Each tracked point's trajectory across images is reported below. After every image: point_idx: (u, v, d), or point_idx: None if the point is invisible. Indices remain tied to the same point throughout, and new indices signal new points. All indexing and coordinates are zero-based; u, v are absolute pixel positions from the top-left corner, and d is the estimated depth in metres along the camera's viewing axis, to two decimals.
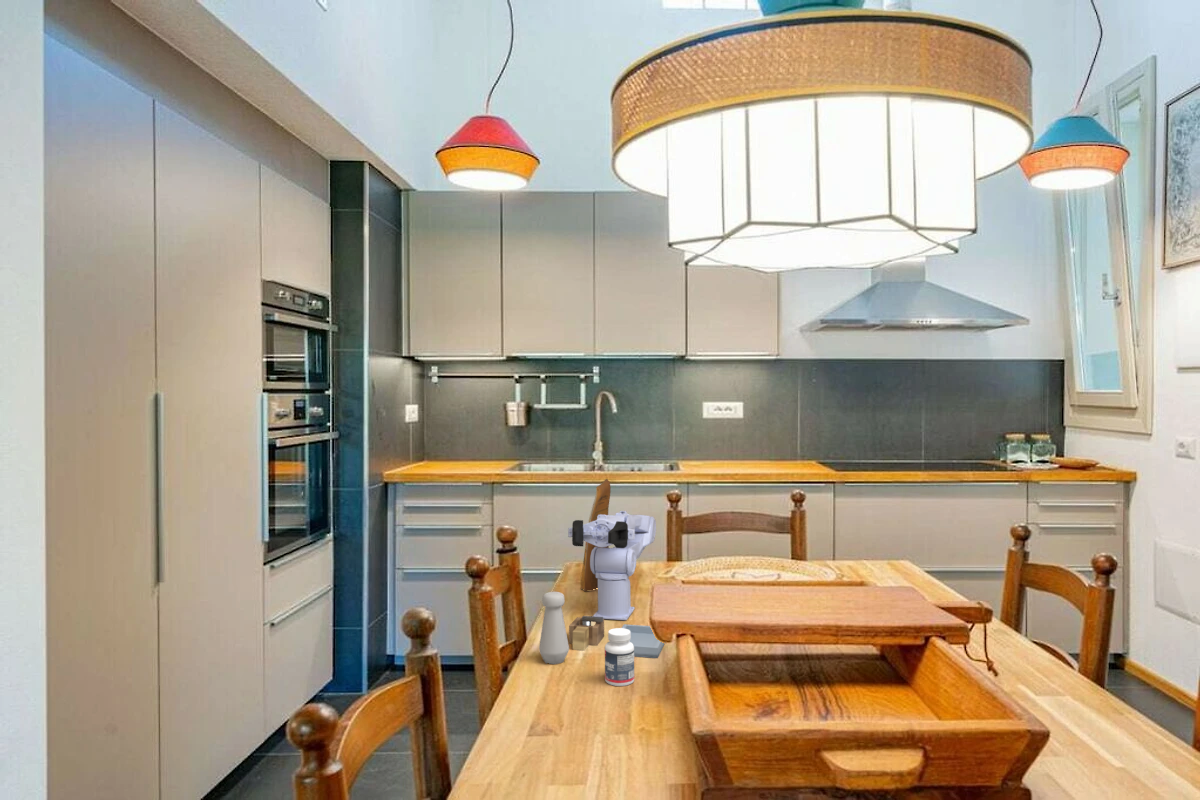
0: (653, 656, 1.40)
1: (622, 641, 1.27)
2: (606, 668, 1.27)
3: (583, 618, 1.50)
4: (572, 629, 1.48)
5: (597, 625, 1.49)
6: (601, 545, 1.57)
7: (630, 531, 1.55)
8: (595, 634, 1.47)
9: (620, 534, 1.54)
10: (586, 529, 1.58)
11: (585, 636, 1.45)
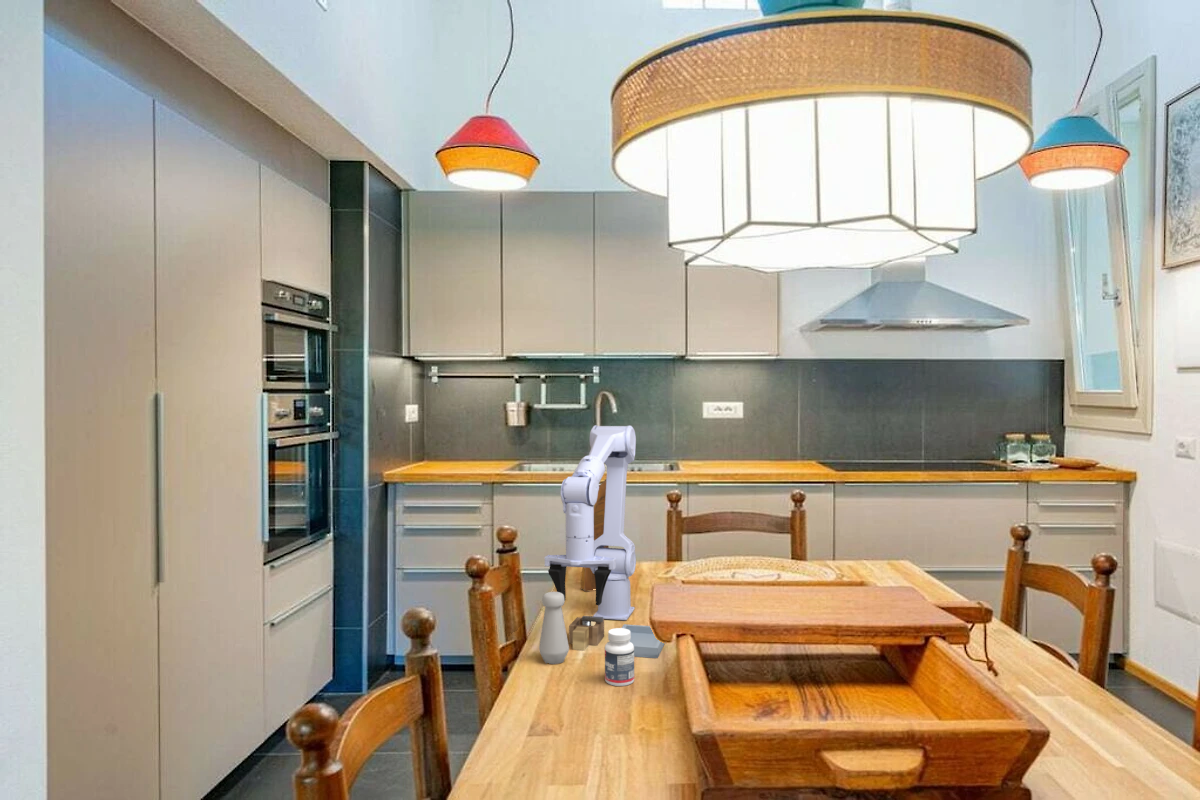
0: (653, 656, 1.40)
1: (622, 641, 1.27)
2: (606, 668, 1.27)
3: (583, 618, 1.50)
4: (572, 629, 1.48)
5: (597, 625, 1.49)
6: None
7: None
8: (595, 634, 1.47)
9: None
10: None
11: (585, 636, 1.45)
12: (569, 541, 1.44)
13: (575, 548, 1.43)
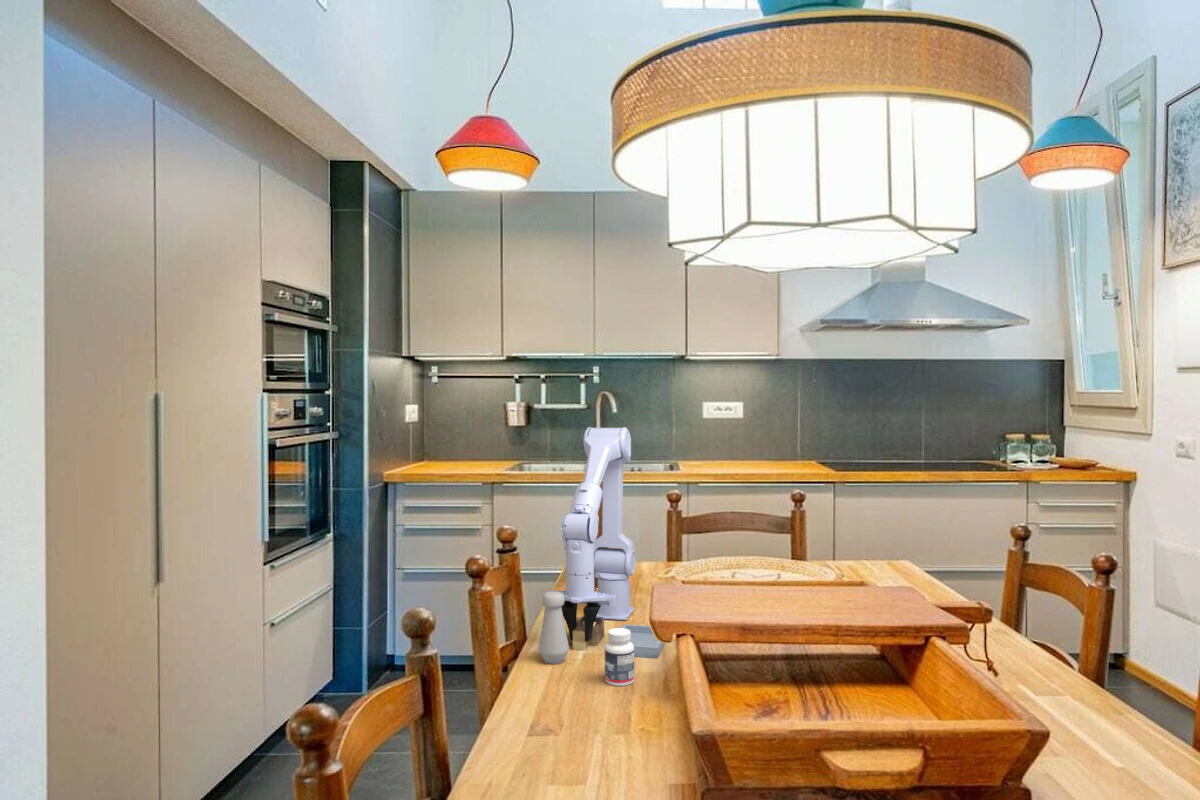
0: (653, 656, 1.40)
1: (622, 641, 1.27)
2: (606, 668, 1.27)
3: (583, 618, 1.50)
4: None
5: (597, 625, 1.49)
6: None
7: None
8: (595, 634, 1.47)
9: None
10: None
11: None
12: (569, 578, 1.44)
13: (575, 585, 1.43)
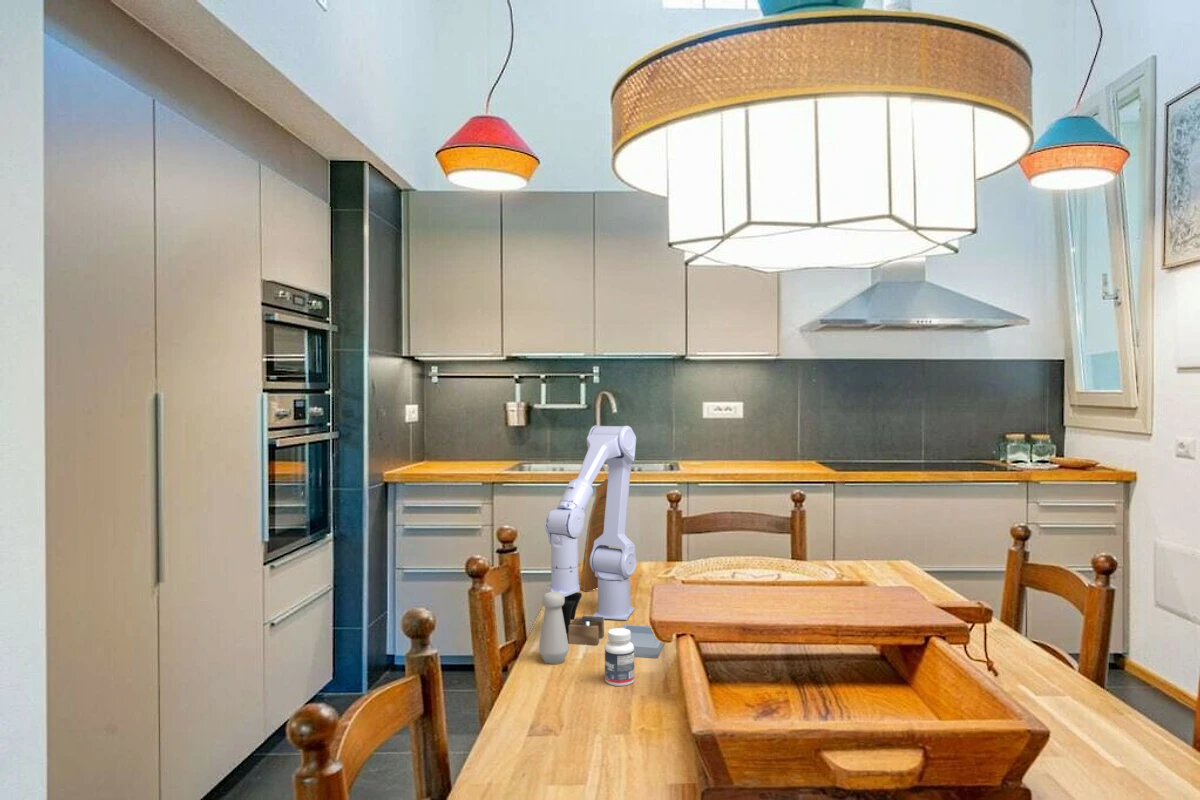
0: (653, 656, 1.40)
1: (622, 641, 1.27)
2: (606, 668, 1.27)
3: (583, 618, 1.50)
4: None
5: (576, 625, 1.49)
6: None
7: None
8: None
9: None
10: None
11: None
12: None
13: None
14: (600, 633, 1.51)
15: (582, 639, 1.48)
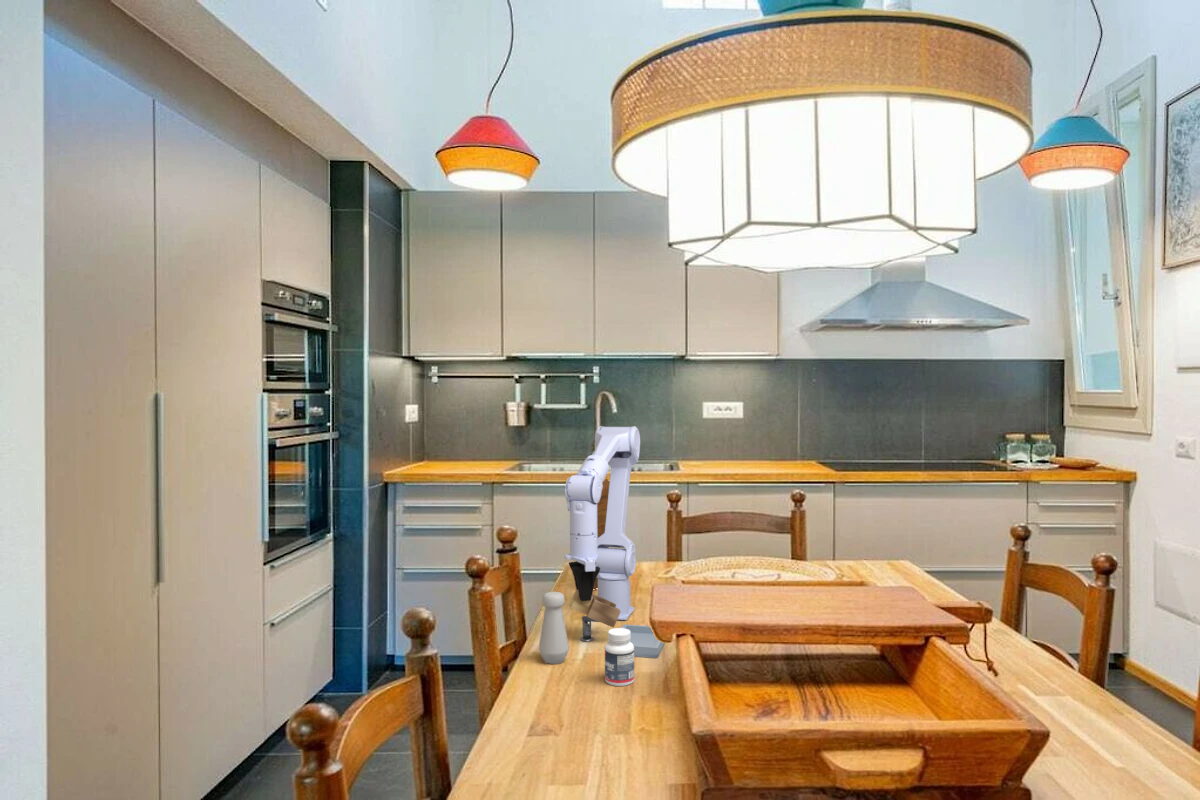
0: (653, 656, 1.40)
1: (622, 641, 1.27)
2: (606, 668, 1.27)
3: (583, 618, 1.50)
4: None
5: (601, 603, 1.48)
6: None
7: None
8: (591, 606, 1.47)
9: None
10: None
11: None
12: None
13: (570, 543, 1.49)
14: None
15: (602, 617, 1.47)
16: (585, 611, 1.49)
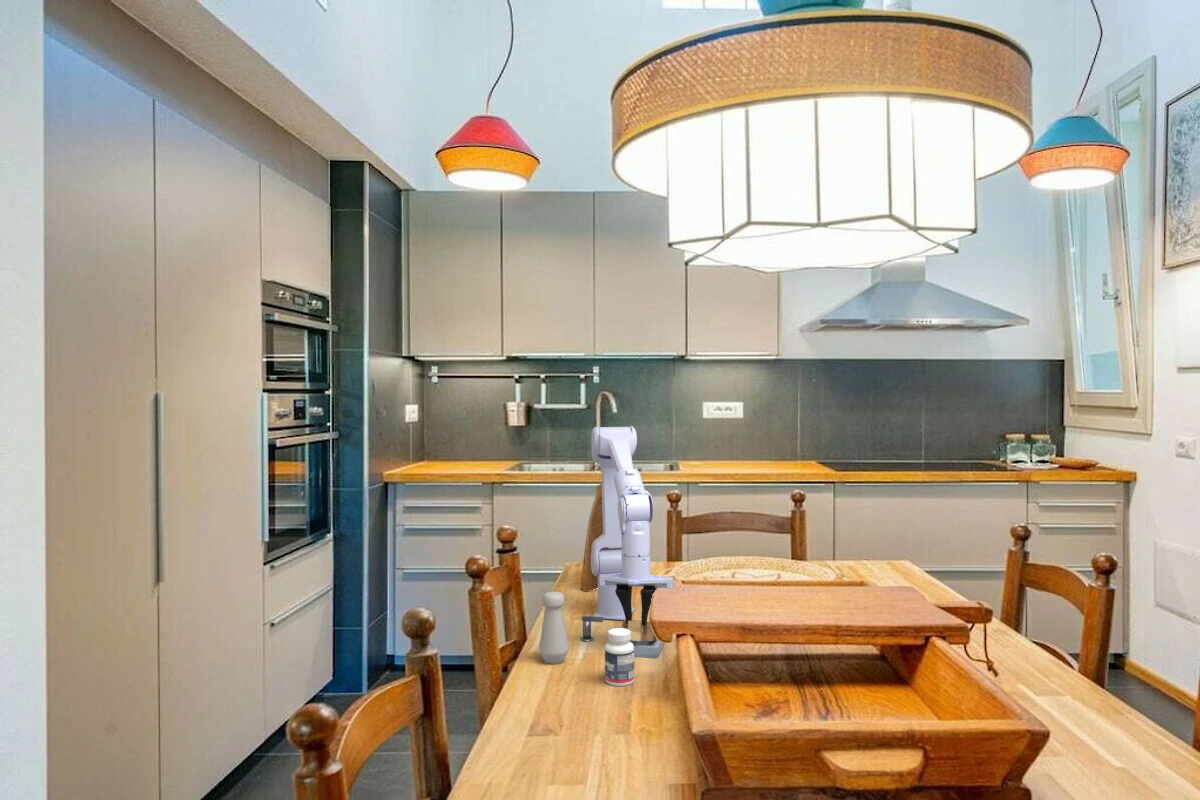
0: (653, 656, 1.40)
1: (622, 641, 1.27)
2: (606, 668, 1.27)
3: (583, 618, 1.50)
4: (626, 624, 1.45)
5: None
6: None
7: None
8: (650, 629, 1.43)
9: None
10: None
11: (640, 627, 1.41)
12: (626, 560, 1.42)
13: (632, 567, 1.41)
14: None
15: (654, 635, 1.45)
16: (642, 637, 1.43)
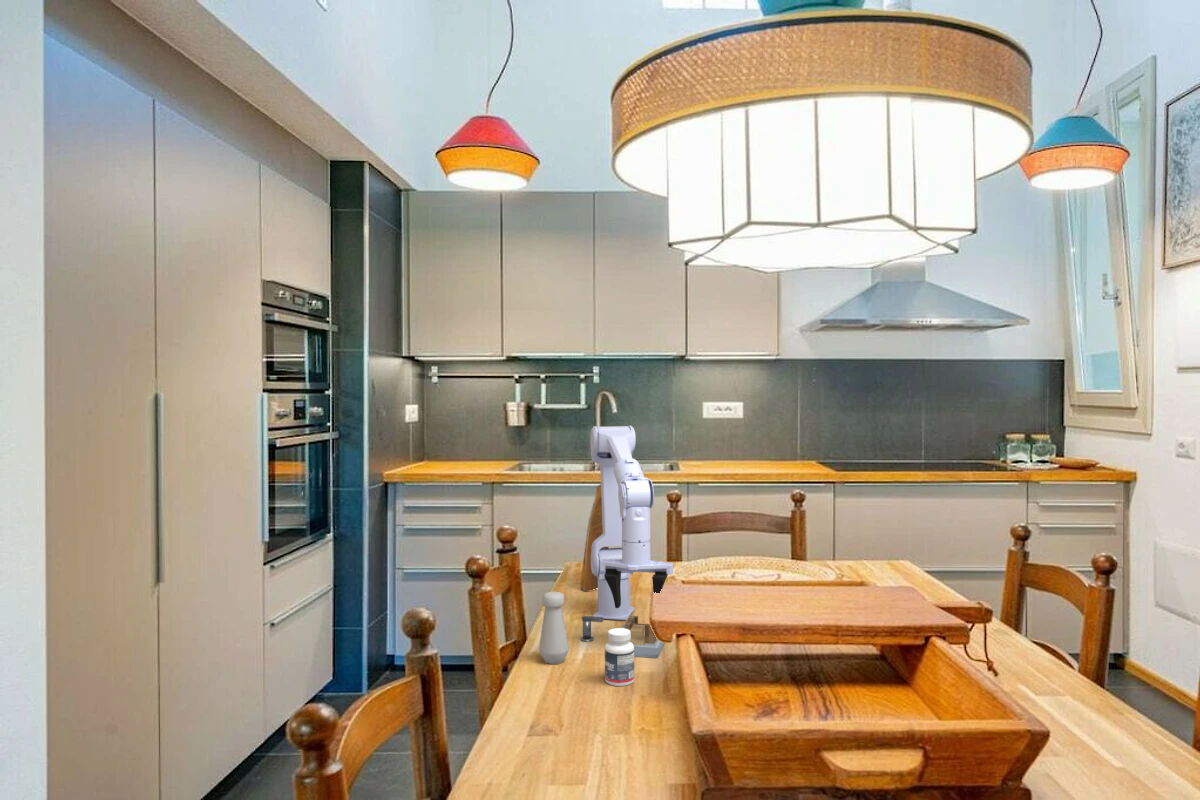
0: (653, 656, 1.40)
1: (622, 641, 1.27)
2: (606, 668, 1.27)
3: (583, 618, 1.50)
4: (628, 627, 1.47)
5: None
6: None
7: None
8: (652, 632, 1.46)
9: None
10: None
11: (642, 634, 1.44)
12: (626, 546, 1.42)
13: (632, 553, 1.41)
14: None
15: None
16: (644, 641, 1.46)
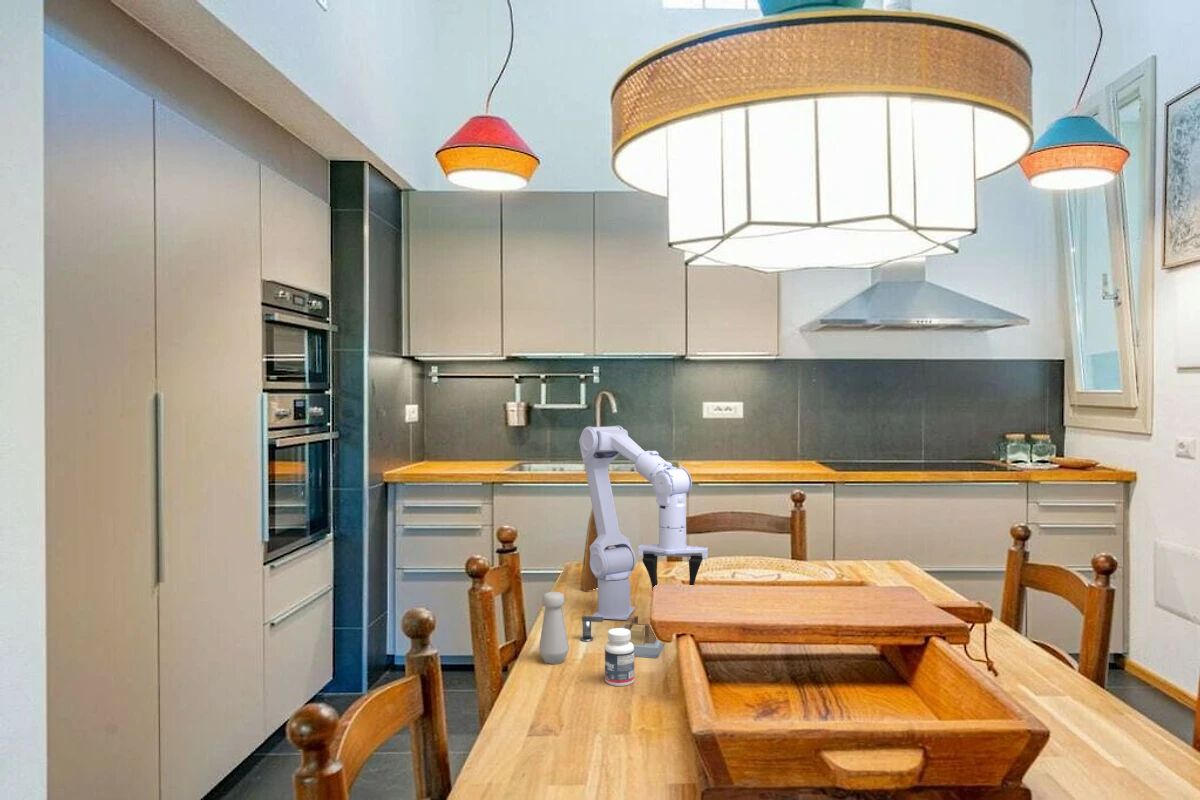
0: (653, 656, 1.40)
1: (622, 641, 1.27)
2: (606, 668, 1.27)
3: (583, 618, 1.50)
4: (628, 627, 1.47)
5: None
6: None
7: None
8: (652, 632, 1.46)
9: None
10: None
11: (642, 634, 1.44)
12: (663, 531, 1.49)
13: (670, 538, 1.49)
14: None
15: None
16: (644, 641, 1.46)
